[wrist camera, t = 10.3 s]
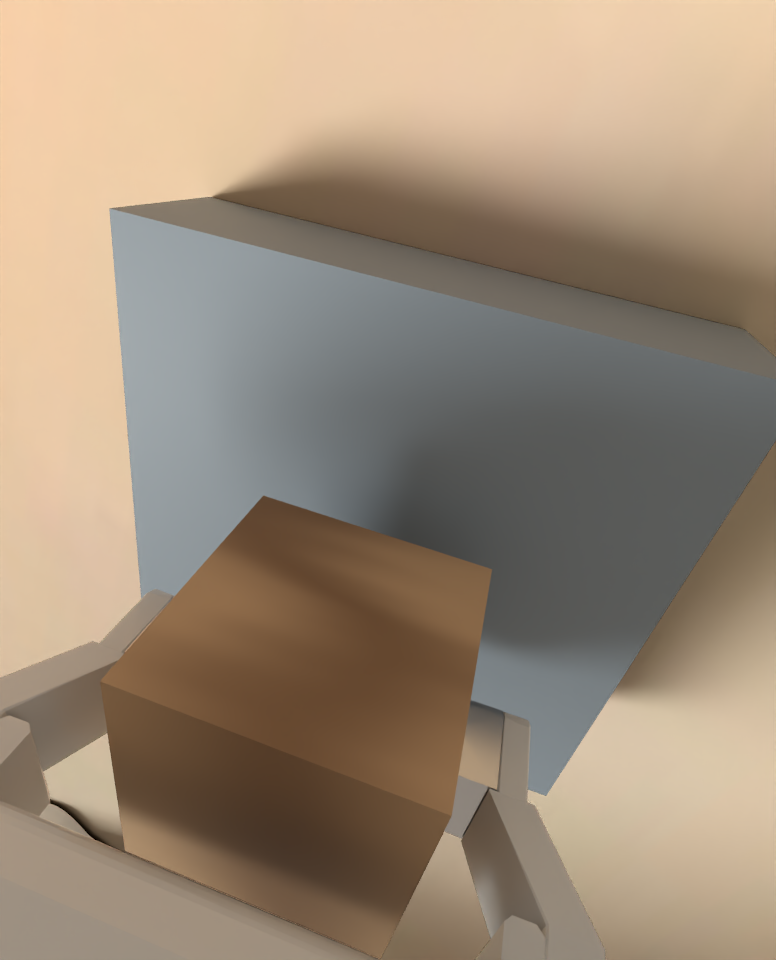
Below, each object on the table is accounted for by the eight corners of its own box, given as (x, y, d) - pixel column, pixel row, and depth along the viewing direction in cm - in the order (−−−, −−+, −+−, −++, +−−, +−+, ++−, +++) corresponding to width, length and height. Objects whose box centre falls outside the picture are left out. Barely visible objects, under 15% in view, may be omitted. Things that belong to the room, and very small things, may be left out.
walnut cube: (250, 650, 14) (125, 850, 10) (263, 495, 12) (100, 681, 8) (434, 717, 14) (380, 959, 10) (491, 569, 11) (450, 816, 7)
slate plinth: (207, 577, 22) (145, 650, 19) (210, 197, 15) (109, 208, 12) (547, 692, 21) (545, 795, 17) (745, 329, 13) (809, 388, 10)
